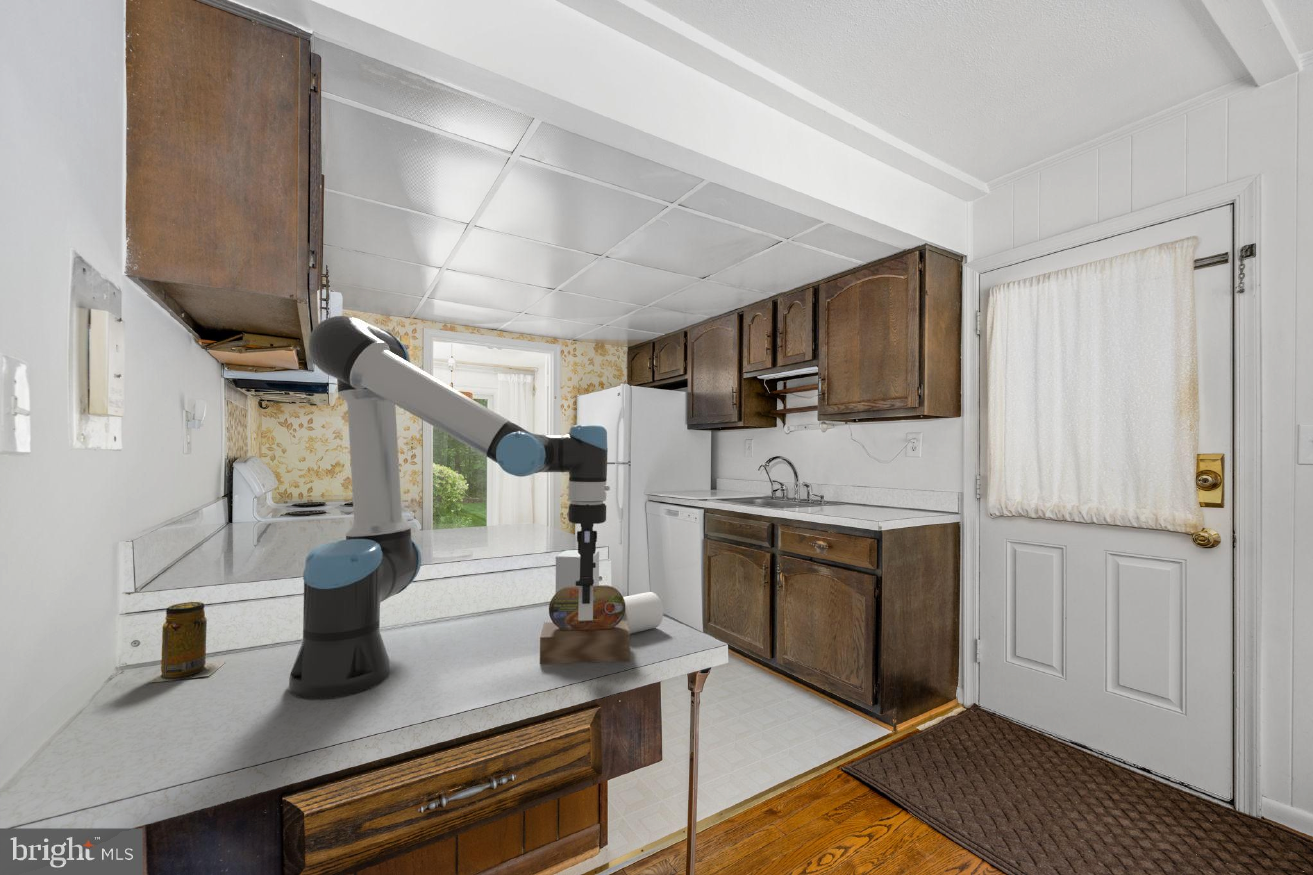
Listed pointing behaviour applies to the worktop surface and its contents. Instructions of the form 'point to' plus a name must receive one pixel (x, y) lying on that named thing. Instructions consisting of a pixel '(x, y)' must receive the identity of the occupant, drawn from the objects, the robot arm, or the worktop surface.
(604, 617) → the tin
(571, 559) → the supplement box
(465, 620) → the worktop surface
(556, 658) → the plinth
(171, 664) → the condiment
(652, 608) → the mug
